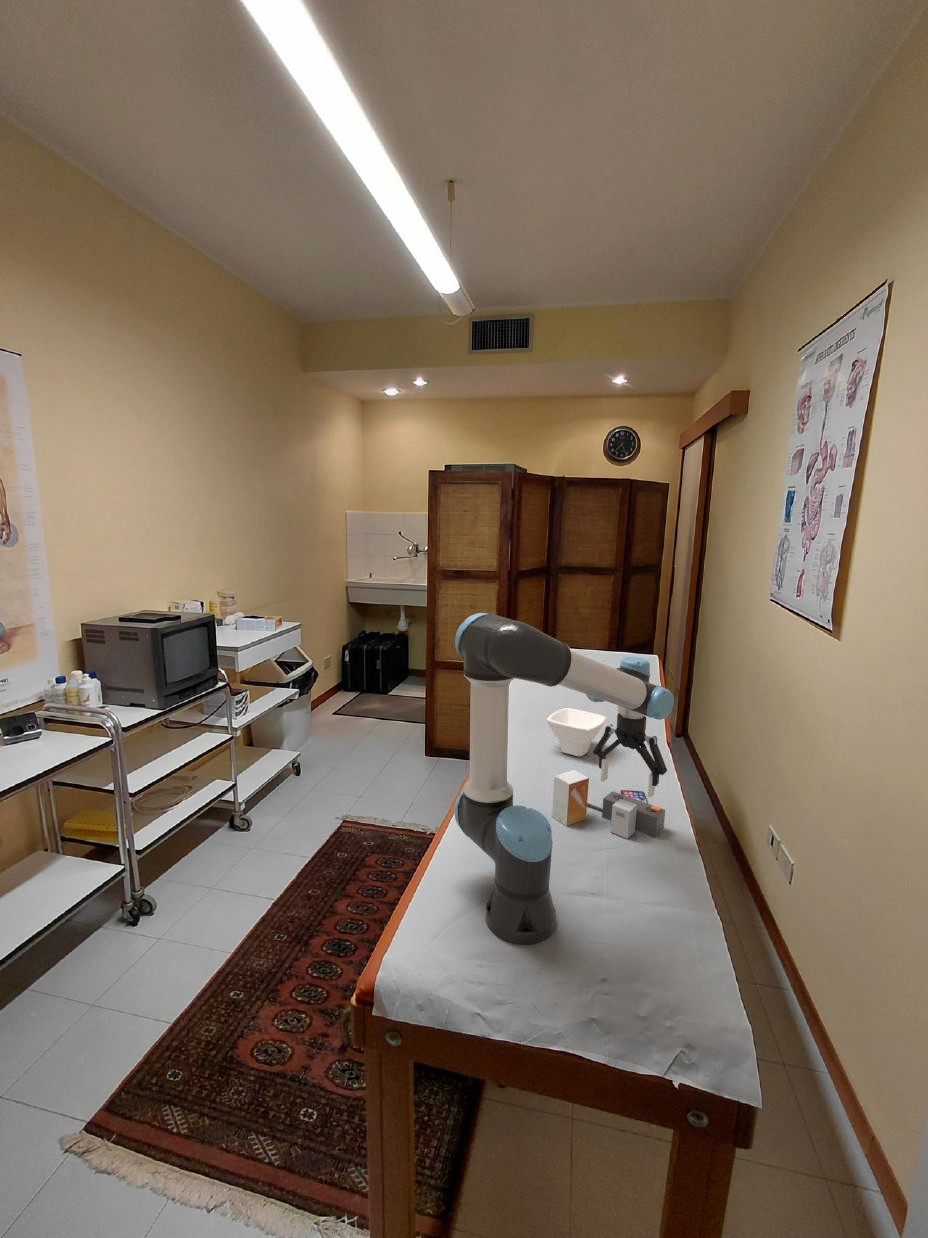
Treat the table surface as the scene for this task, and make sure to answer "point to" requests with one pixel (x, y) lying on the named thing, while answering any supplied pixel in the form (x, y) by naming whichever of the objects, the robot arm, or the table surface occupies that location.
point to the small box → (570, 797)
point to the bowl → (575, 729)
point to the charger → (623, 818)
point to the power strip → (646, 815)
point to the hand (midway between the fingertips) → (626, 787)
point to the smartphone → (635, 795)
